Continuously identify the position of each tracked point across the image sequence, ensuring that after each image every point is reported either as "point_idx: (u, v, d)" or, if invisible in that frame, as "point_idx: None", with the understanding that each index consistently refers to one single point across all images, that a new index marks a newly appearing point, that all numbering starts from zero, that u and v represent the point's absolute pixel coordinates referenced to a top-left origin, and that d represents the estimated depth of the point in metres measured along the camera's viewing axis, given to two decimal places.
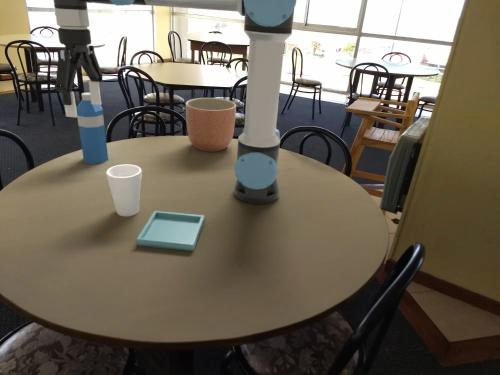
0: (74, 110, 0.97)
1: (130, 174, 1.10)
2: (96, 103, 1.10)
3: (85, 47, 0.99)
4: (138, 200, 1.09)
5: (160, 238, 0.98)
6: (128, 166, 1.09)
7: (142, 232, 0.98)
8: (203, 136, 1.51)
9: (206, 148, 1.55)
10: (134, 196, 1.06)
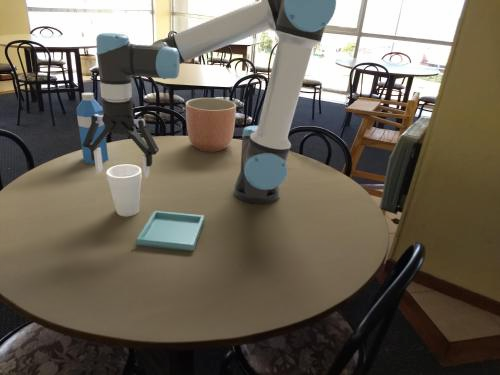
0: (95, 166, 1.04)
1: (130, 174, 1.10)
2: None
3: (126, 119, 0.97)
4: (138, 200, 1.09)
5: (160, 238, 0.98)
6: (128, 166, 1.09)
7: (142, 232, 0.98)
8: (203, 136, 1.51)
9: (206, 148, 1.55)
10: (134, 196, 1.06)
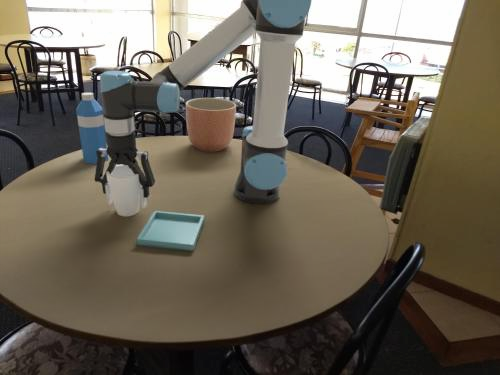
0: (107, 199, 1.08)
1: (130, 174, 1.10)
2: None
3: (129, 151, 1.01)
4: (138, 200, 1.09)
5: (160, 238, 0.98)
6: (128, 166, 1.09)
7: (142, 232, 0.98)
8: (203, 136, 1.51)
9: (206, 148, 1.55)
10: (134, 196, 1.06)
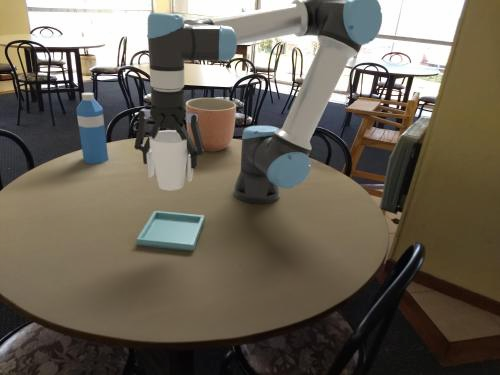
0: (148, 170, 0.93)
1: (174, 142, 0.95)
2: None
3: (178, 111, 0.86)
4: (184, 172, 0.93)
5: (160, 238, 0.98)
6: (172, 132, 0.94)
7: (142, 232, 0.98)
8: (203, 136, 1.51)
9: (206, 148, 1.55)
10: (180, 166, 0.91)
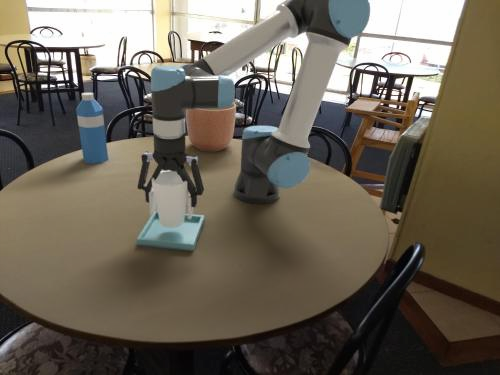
0: (150, 208, 0.98)
1: (175, 181, 0.99)
2: None
3: (179, 155, 0.91)
4: (184, 210, 0.98)
5: (160, 238, 0.98)
6: (173, 172, 0.98)
7: (142, 232, 0.98)
8: (203, 136, 1.51)
9: (206, 148, 1.55)
10: (181, 205, 0.96)
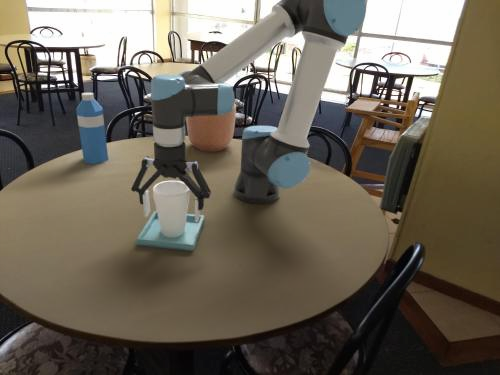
0: (144, 210, 0.98)
1: (176, 191, 1.01)
2: None
3: (179, 163, 0.92)
4: (185, 220, 1.00)
5: (160, 238, 0.98)
6: (174, 182, 1.00)
7: (142, 232, 0.98)
8: (203, 136, 1.51)
9: (206, 148, 1.55)
10: (182, 216, 0.97)
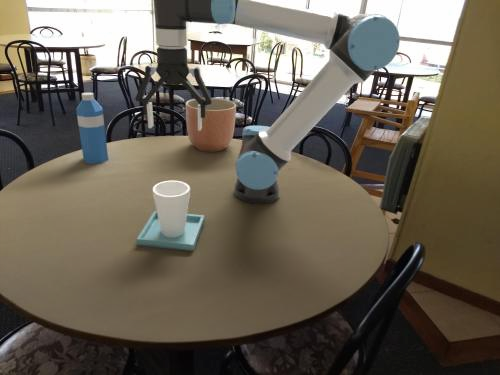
0: (148, 121, 1.02)
1: (176, 191, 1.01)
2: None
3: (181, 68, 0.96)
4: (185, 220, 1.00)
5: (160, 238, 0.98)
6: (174, 182, 1.00)
7: (142, 232, 0.98)
8: (203, 136, 1.51)
9: (206, 148, 1.55)
10: (182, 216, 0.97)
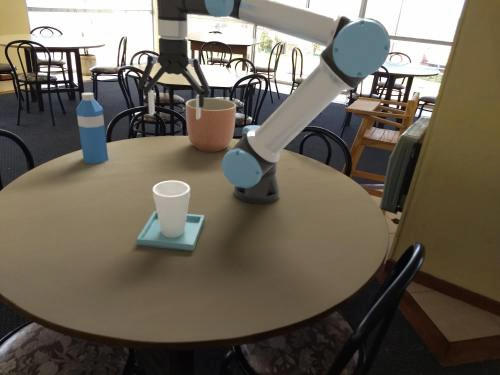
0: (149, 108, 1.07)
1: (176, 191, 1.01)
2: None
3: (181, 58, 1.00)
4: (185, 220, 1.00)
5: (160, 238, 0.98)
6: (174, 182, 1.00)
7: (142, 232, 0.98)
8: (203, 136, 1.51)
9: (206, 148, 1.55)
10: (182, 216, 0.97)
